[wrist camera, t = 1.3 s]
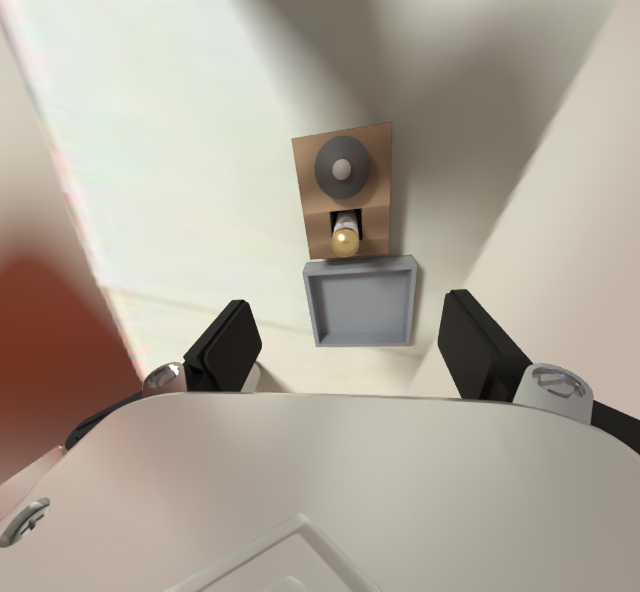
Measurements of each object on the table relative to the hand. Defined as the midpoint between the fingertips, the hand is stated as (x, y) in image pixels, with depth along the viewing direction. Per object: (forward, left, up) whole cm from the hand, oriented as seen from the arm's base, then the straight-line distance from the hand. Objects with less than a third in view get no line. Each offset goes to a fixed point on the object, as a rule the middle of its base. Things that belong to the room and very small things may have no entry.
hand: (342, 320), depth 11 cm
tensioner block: (-3, 0, -20) cm, 20 cm away
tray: (+12, +1, -20) cm, 23 cm away
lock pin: (0, 0, -20) cm, 20 cm away
